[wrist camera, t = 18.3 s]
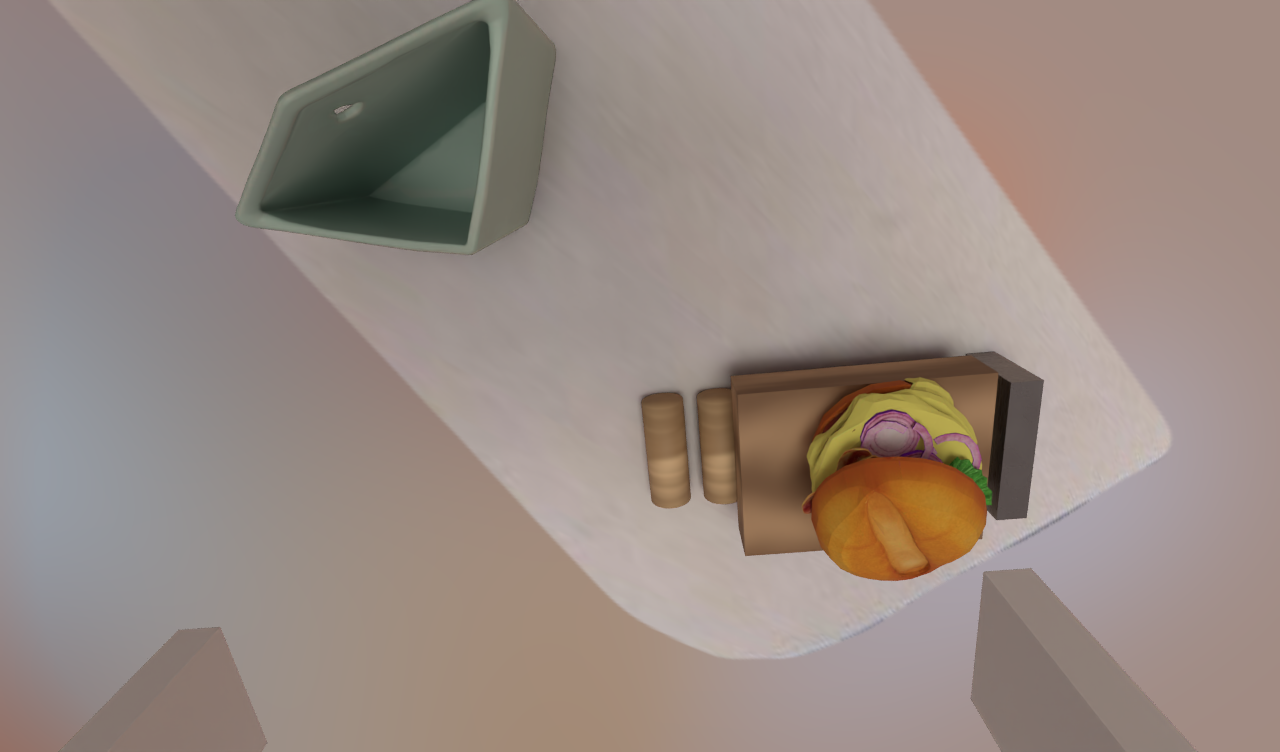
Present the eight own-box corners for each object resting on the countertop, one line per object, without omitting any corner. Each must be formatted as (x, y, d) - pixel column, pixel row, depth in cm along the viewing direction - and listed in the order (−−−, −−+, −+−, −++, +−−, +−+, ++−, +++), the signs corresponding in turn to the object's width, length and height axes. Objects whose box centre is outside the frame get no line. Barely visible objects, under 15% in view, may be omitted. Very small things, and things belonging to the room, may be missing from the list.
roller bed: (641, 394, 46) (640, 410, 44) (957, 367, 45) (978, 382, 42) (651, 489, 49) (651, 509, 46) (950, 466, 48) (968, 485, 45)
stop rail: (965, 354, 45) (1010, 383, 39) (994, 351, 45) (1043, 380, 39) (955, 477, 48) (996, 520, 43) (982, 474, 48) (1026, 517, 42)
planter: (436, 291, 44) (278, 392, 25) (358, 196, 42) (124, 230, 23) (624, 150, 41) (602, 148, 22) (550, 39, 39) (456, -68, 20)
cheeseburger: (1001, 406, 39) (1077, 524, 31) (891, 512, 45) (930, 636, 36) (863, 338, 37) (904, 442, 29) (768, 456, 43) (779, 572, 35)
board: (730, 376, 42) (737, 394, 39) (971, 355, 42) (998, 372, 38) (738, 527, 46) (745, 556, 43) (958, 511, 46) (982, 539, 42)
